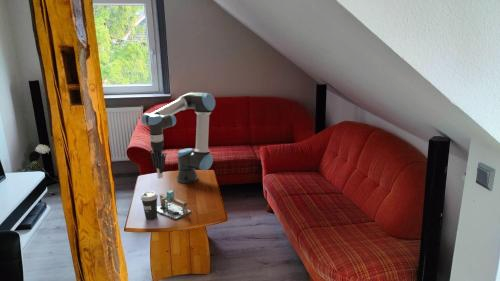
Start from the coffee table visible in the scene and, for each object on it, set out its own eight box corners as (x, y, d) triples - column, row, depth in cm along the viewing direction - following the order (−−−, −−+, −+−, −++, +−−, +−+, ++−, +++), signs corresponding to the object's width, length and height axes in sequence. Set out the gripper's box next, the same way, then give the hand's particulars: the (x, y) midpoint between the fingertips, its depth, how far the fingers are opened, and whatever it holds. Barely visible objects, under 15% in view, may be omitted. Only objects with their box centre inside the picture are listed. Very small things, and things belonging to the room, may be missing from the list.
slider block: (172, 205, 228) (170, 190, 225) (175, 206, 226) (173, 191, 223) (165, 209, 224) (163, 193, 221) (168, 210, 222) (166, 194, 219)
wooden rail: (163, 203, 232) (162, 193, 231) (187, 212, 219) (186, 202, 217) (157, 206, 228) (156, 196, 227) (181, 216, 215) (180, 205, 214)
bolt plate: (167, 203, 235) (167, 201, 234) (191, 212, 222) (191, 210, 221) (152, 210, 226) (151, 208, 225) (176, 220, 213) (175, 218, 212)
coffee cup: (144, 214, 221) (142, 191, 217) (160, 213, 222) (158, 190, 217) (141, 222, 212) (138, 198, 207) (158, 220, 212) (156, 197, 208)
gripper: (145, 140, 220) (148, 177, 227) (158, 143, 212) (162, 181, 219) (155, 137, 226) (158, 173, 232) (169, 141, 218) (172, 178, 225)
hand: (160, 177), depth 226 cm, fingers closed
